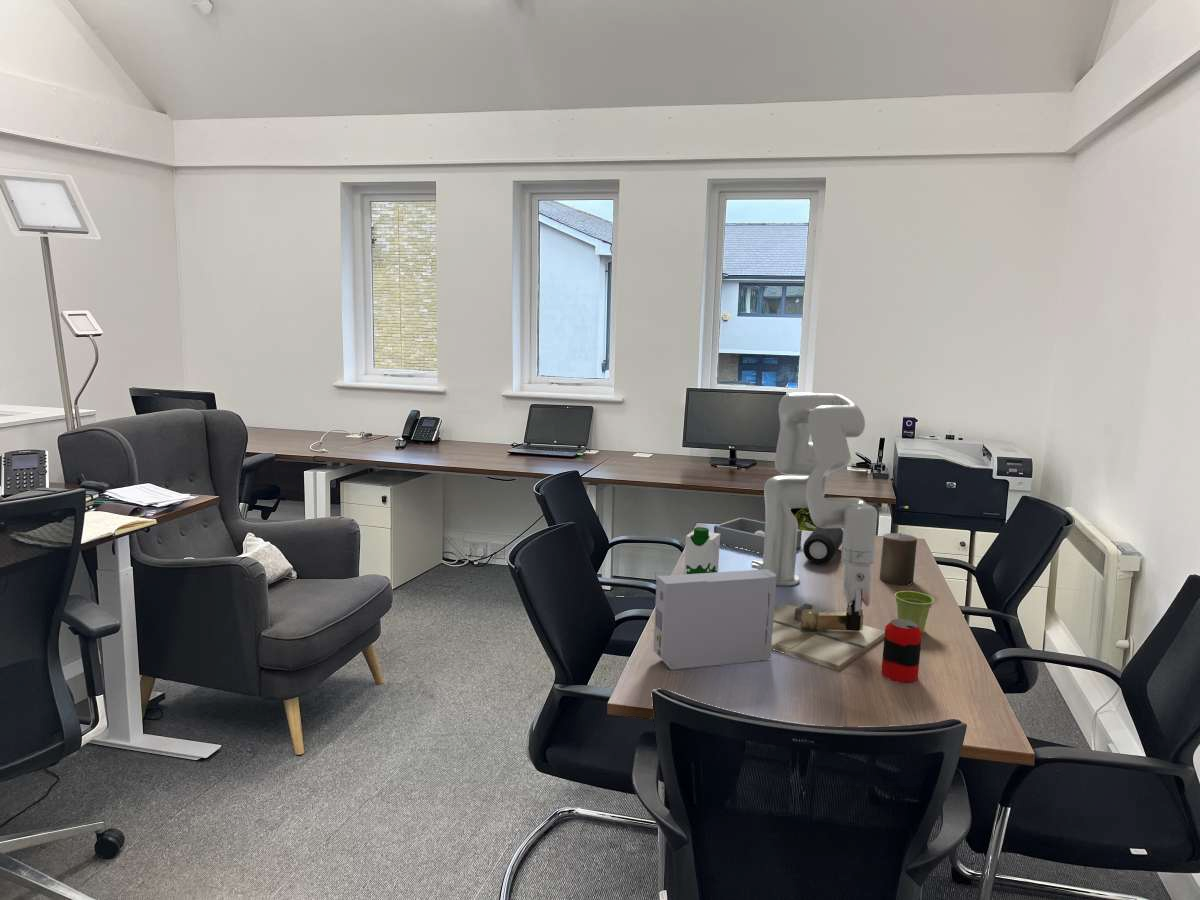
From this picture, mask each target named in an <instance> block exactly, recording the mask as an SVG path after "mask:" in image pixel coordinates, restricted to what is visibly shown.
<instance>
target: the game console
mask: <svg viewBox="0 0 1200 900" xmlns="http://www.w3.org/2000/svg"><path fill="white" fill-rule="evenodd" d="M655 584H656V586H655V609H654V628H653V629H654V633H653V652H654V653H655V654H656V655H657V656H658V657H659V658H660V659H661V661H662V662H663V663H664V664H665V665H666V666H667V667H668V669H670V670H672V671H673V670H681V669H682V670H683V669H692V668H702V667H712V666H722V665H732V664H741V663H742V662H744V663H751V661H754V662H761V661H760V660H763V661H770V660H771V659H772V651H773V650H772V634H773V619H774V609H775V604H776V603H775V602H776V601H775V600H776V593H777V591H776V587H777V585H776V574H775V573H773V572H771V571H770V570H768V569H761V570H758V569H751V570H749V569H747V570H736V571H735V570H733V571H718V572H715V573H700V574H671V575H656V582H655ZM769 659H770V660H769Z"/></svg>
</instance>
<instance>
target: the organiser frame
mask: <svg viewBox="0 0 1200 900" xmlns="http://www.w3.org/2000/svg"><path fill="white" fill-rule="evenodd" d="M802 530H803V529H799V528H798V533H797V547H796V548H797V549H798V548H800V547H802V546H801V545H802V533H803V532H802ZM756 531H763V532H764V533H765V521H759V520H757V519H750V518H745V517H739V518H735V519H731V520H728V521H726V522H723V523H719V524H717V525H714V526H713V533H719V534H720V544H724V545H723V546H725V545H728V546H727V547H729V546H732V547H731V548H733V547H738V548H743V549H747V550H750V551H749V552H751V551H754V552H753V553H755V552H759V553H763V550H764V536H762V535H757V534H755V532H756ZM720 544H719V545H720ZM738 548H737V549H738ZM759 553H758V554H759Z"/></svg>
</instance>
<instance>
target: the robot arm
mask: <svg viewBox="0 0 1200 900" xmlns="http://www.w3.org/2000/svg"><path fill="white" fill-rule="evenodd" d="M778 418H779V433H778V439H777V444H776V451H775V457H774V468H775V470H777V472H778V473H780V474H784V475H775V476H772V477H770V478H768V479H767V480H766V482H765V483H764V487H763V491H764V493H763V495H764V505H765V506H764V507H765V517H764V518H765V519H764V520H765V521H764V522H765V535H764V550H763V554H762V561H759V560H757V559H756V560H755V559H753V560H752V561H751V568H752V569H754V570H761V569H768V570H770V571H771V572H773V573H775V574H776V586H778V587H783V586H784V587H789V586H795V585H797V584H798V583H800V581H801V580H800V576H798V574H796V572H795V571H796V559H797V558H796V557H797V549H796V547H797V533H798V529H799V522H798V519H797V517H796V516H795V515H794V513H793V512H792V511H791V510H792V509H808V512H809V516H810V519H811V522H812V523H813V524H814V525H815V526H816V527H820V528H842V530H843V538H842V544H841V554H840V556H841V557H840V562H842V563H844V571H843V572H844V574H843V595H844V598H845V600H846V611H845V612H846V624H845V627H846V629H847V630H851V631H860V622H861V609H862V607H863V606H862V605H863V604H864V606H865V607H869V606H870V604H871V601H870V599H871V566H872V565H874V563H875V551H876V537H877V535H876V534H877V522H878V511H877V508H876V507H875V506H873V505H870V504H867V502H866V501H865V500H863V499H862V498H859V497H825V494H826V489H827V484H828V480H829V475H830V474H832V473H835V472H837V471H839V470H842V469H844V468H845V467H846V466H847V465H849V463H850V462H851V460H852V457H851V452H850V448H849V444H848V440H847V439H848V438H858V437H860V436H862V434H863V433H864V431H865V427H866V420H865V416H864V414H863V412H862V410H861V408H860V407H859V406H858V405H857V404H856V403H855V402H853V401H851V399H849V398H847V397H846V396H844V395H842V394H841V393H840V394H839V393H832V392H831V393H828V392H827V393H824V392H820V393H817V392H789V393H786V394H785V395H783V396H782V397H781V399H780V401H779V404H778ZM810 438H811V441H810Z"/></svg>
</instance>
